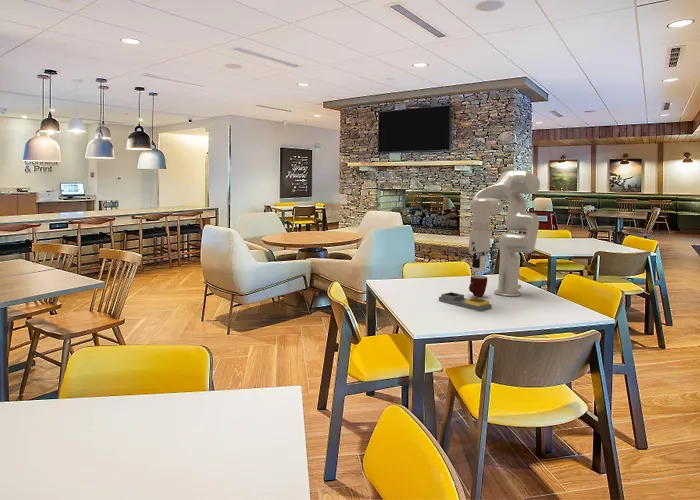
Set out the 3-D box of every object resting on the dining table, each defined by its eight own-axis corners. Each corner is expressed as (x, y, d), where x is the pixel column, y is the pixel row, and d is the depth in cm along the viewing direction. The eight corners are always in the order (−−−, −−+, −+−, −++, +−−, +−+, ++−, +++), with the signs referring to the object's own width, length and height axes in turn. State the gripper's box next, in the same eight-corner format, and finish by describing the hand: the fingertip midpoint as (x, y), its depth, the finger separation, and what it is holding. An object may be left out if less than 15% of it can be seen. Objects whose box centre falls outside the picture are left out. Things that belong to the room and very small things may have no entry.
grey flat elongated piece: (449, 298, 242) (449, 291, 241) (491, 308, 224) (491, 301, 223) (438, 301, 237) (439, 293, 236) (481, 311, 219) (481, 303, 218)
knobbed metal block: (477, 269, 225) (478, 252, 224) (484, 270, 222) (485, 253, 221) (472, 270, 223) (473, 253, 222) (479, 271, 220) (480, 254, 219)
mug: (477, 300, 240) (478, 279, 238) (463, 296, 246) (464, 277, 244) (489, 296, 247) (490, 277, 246) (475, 293, 253) (476, 274, 251)
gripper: (484, 225, 228) (482, 264, 230) (462, 226, 217) (460, 267, 220) (498, 226, 222) (496, 266, 225) (476, 228, 212) (474, 270, 214)
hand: (478, 266), depth 222 cm, fingers closed on knobbed metal block, 4 cm apart
